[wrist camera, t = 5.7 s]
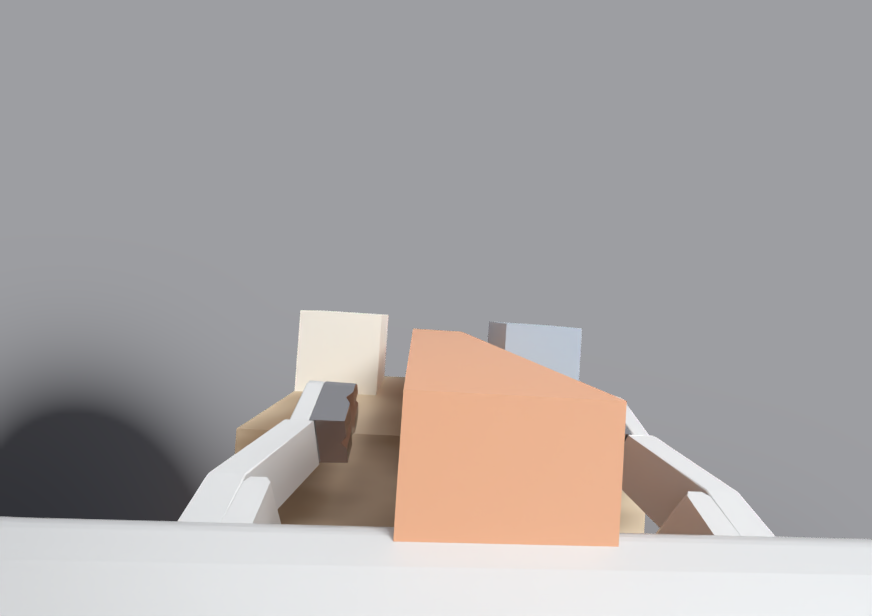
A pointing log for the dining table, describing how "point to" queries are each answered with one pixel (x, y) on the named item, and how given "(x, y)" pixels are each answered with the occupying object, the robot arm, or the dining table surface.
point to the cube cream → (342, 349)
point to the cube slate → (540, 344)
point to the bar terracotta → (504, 449)
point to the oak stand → (363, 467)
